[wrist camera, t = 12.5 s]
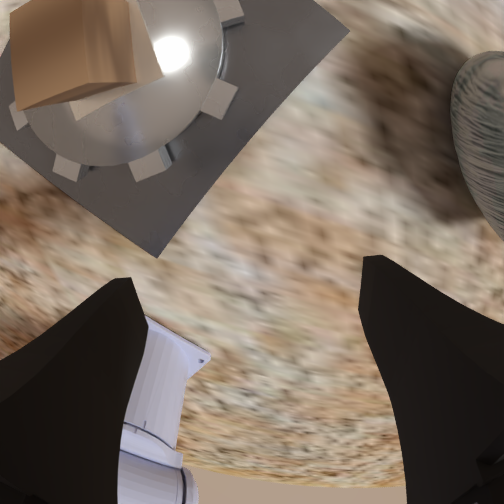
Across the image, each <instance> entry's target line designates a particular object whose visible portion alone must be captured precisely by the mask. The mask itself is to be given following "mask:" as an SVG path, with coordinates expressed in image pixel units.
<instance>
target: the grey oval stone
mask: <svg viewBox="0 0 504 504" xmlns="http://www.w3.org/2000/svg"><path fill="white" fill-rule="evenodd" d="M450 116H451V126H452V134H453V141H454V146H455V150H456V152H457V156H458V160H459V165H460V168H461V172H462V174H463V177H464V180H465V182H466V184H467V187H468V189H469V191H470V193H471V195H472V196H473V198H474V200H475V202H476V204H477V206H478V207H479V209H480V210H481V212H482V213H483V215H484V217H485V218H486V220H487V221H488V223H489V224H490V226H491V227H492V228H493V229H494V231H495V232H496V233H497V234H498V236H499V237H500V238H501V239H502V240H503V241H504V52H502V51H488V52H483V53H480V54H477V55H475V56H473V57H472V58H470V59H469V60H467V61H466V62H465V63H464V65H463V66H462V67H461V69H460V70H459V72H458V73H457V75H456V77H455V80H454V83H453V87H452V93H451V106H450Z"/></svg>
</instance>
